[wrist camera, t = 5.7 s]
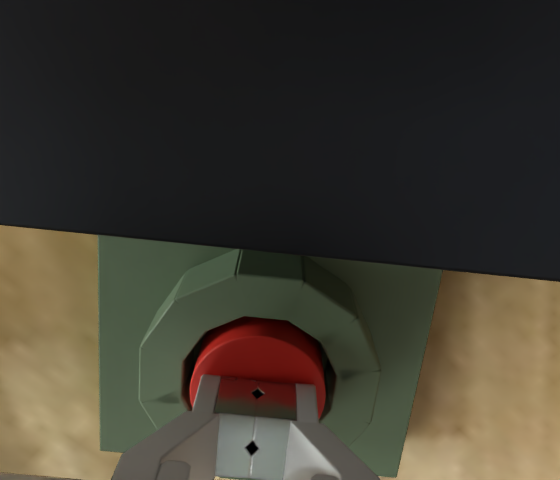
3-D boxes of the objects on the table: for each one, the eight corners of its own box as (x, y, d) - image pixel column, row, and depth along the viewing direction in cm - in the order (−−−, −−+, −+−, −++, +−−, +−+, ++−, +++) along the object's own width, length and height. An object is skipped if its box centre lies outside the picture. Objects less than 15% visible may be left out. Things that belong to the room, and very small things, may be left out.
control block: (438, 210, 16) (477, 250, 13) (388, 447, 19) (410, 528, 16) (113, 176, 16) (67, 208, 13) (113, 421, 19) (76, 499, 16)
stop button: (329, 311, 15) (334, 343, 13) (313, 416, 16) (316, 457, 15) (202, 299, 15) (192, 329, 13) (196, 405, 16) (186, 445, 14)
